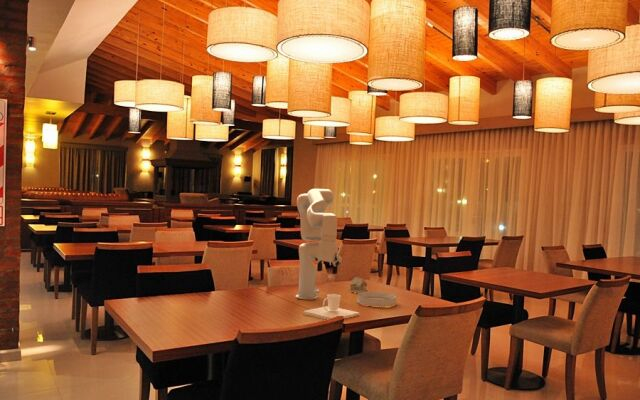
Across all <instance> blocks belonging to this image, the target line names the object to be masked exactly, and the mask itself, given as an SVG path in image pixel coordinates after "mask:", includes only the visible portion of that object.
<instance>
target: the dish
mask: <svg viewBox="0 0 640 400" xmlns="http://www.w3.org/2000/svg"><path fill="white" fill-rule="evenodd" d="M357 302H358V303H360V304H363V305H369V306H379V307H380V306H381V307H382V306H383V307H385V306H393V305H396V306H397V295H395V294H393V293H389V292H381V291H368V292H360V293H358V294H357V298H356V303H357ZM358 303H357V304H358Z"/></svg>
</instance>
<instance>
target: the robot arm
mask: <svg viewBox="0 0 640 400" xmlns="http://www.w3.org/2000/svg"><path fill="white" fill-rule="evenodd" d="M333 201H334V194H333V191H332V190H331V189H328V188H327V189H326V188H312V189H310V190H308V192H307V193H301V194H299V195H298V197H297V199H296V206H297V211H298V214H299V216H300V217H299V218H300V237H301V239H302V240H303V241H305V242H304V243H301V244H300V245H299V246H298V257H299V274H298V275H299V276H298V293H297V294H296V295H295V298H296V299H298V300H305V301H308V300H309V301H310V300H317V299H318V295H317V294H319V293H320V292H321V291H320V289H316V279H317V277H316V276H317V272H322V271H323V262H327V263H332V265H333V266H332V270H331V271H332V272H331V273H332V274H333V275H336V274H338V267H339V266H340V264H341V262H342V261H343V257H342V256H340V254H339V249H338V248H339V247H338V242H337V230H338V216H337V215H336V214H334V213H332V212H325V211H326V210H327V209H328V207H330V206H331V204H333ZM306 241H310V242H306ZM316 242H317V243H316ZM318 242H319V243H318ZM313 260H314V261H316V264H317V266H316V265H315V263H314V262H313Z"/></svg>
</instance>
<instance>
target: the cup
mask: <svg viewBox="0 0 640 400" xmlns="http://www.w3.org/2000/svg"><path fill="white" fill-rule="evenodd" d="M326 295H327V297H325V298H324V299H323V301H322V307H323V308H324V309H325V310H326V311H328V310H327V309H326V308H325V303H326V300H327V306H328V307H329V309H330V310H329V311H328V312H338V311H337V310H338V308H340V302H341V297H342V295H340V294H337V293H329V294H326Z"/></svg>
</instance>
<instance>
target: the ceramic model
mask: <svg viewBox="0 0 640 400" xmlns="http://www.w3.org/2000/svg"><path fill="white" fill-rule="evenodd" d="M361 277H362V276H357V277H356V276H355V277H354V278H353V279H351V281H350V283H349V286H350V288H349V289H348V292H349V291H351V292H356V293H360V292H369V290H367V286H368V284H367V282H366V280H364V278H361Z"/></svg>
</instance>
